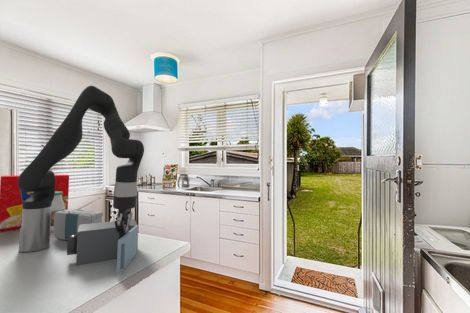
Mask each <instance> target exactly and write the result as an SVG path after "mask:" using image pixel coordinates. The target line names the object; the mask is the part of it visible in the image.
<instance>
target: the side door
mask: <svg viewBox="0 0 470 313" xmlns="http://www.w3.org/2000/svg"><path fill="white" fill-rule="evenodd" d="M138 245H139V225H138V224H137V225H136V226H135V227H133V228H132V229H131V230H130V231H129V232H127V233H126V234H125V235H124V236H123V237H122V238H120V239H119V240H118V251H117V258H116V275H118V276H119V275H121V274H122V272H123V271H124V270H125V269H126V268H127V266H128V265H129V264H130V263H131V261H133V259H134V258H135V256H136V255H137V254H138V248H139V247H138Z"/></svg>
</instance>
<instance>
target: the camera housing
mask: <svg viewBox="0 0 470 313" xmlns="http://www.w3.org/2000/svg"><path fill="white" fill-rule="evenodd" d="M115 221H116V220H113V221H102V222H101V223H91V224H81V225H79V228H78V232H77V235H69V236H68V240H67V243H66V256H73V255H76V259H75V266H80V265H86V264H91V263H97V262H103V261H107V260H108V261H109V260H114V259H117V251H118V240H119V233H117V230H116V227H115ZM136 225H138V223H137V221H136V220H135V219H134V218H133V219H132V218H131V222H130V227H129V228H128V231H127V232H129V231H130V230H131V229H132V228H133V227H135V226H136Z"/></svg>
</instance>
